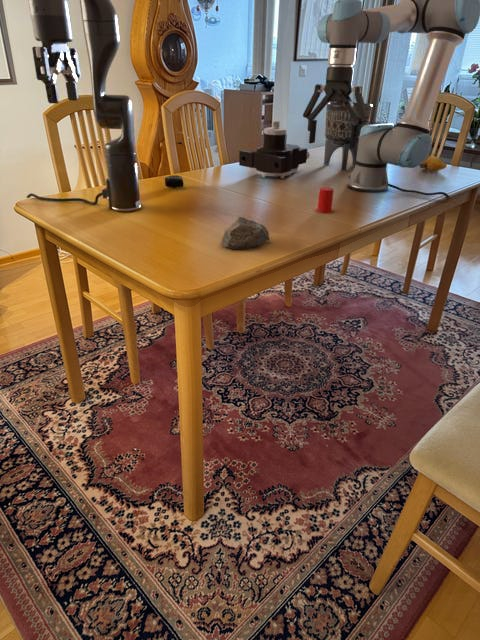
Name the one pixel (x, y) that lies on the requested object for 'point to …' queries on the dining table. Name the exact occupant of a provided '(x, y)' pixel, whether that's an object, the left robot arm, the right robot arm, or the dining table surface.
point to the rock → (245, 234)
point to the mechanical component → (274, 154)
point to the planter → (341, 131)
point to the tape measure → (174, 181)
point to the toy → (433, 164)
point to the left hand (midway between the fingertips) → (64, 101)
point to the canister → (325, 199)
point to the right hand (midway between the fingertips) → (331, 145)
